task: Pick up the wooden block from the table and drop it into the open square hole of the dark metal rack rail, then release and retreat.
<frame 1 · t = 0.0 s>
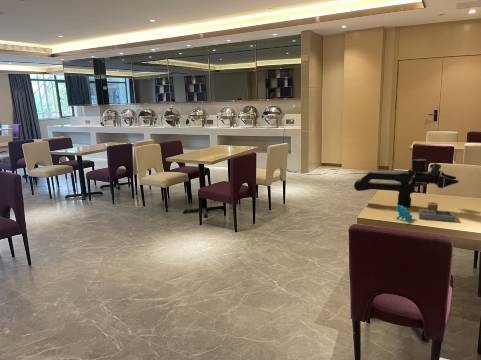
hand: (457, 179, 198), 17 cm above the table, tool horizontal, fingers open, 9 cm apart
rail: (436, 217, 189), on the table
wooden block: (432, 211, 200), on the table
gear: (404, 220, 187), on the table
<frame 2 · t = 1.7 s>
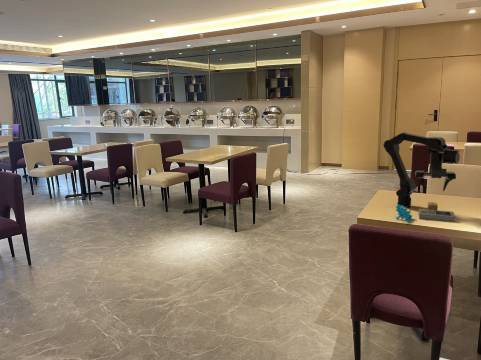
hand: (433, 190, 197), 11 cm above the table, tool pointing down, fingers open, 9 cm apart
nothing on the table moved.
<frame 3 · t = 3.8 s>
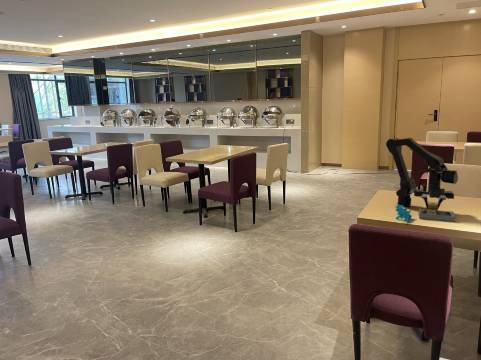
hand: (432, 209, 199), 1 cm above the table, tool pointing down, fingers closed on wooden block, 4 cm apart
wooden block: (432, 211, 200), on the table, touching gripper
everything else where it was.
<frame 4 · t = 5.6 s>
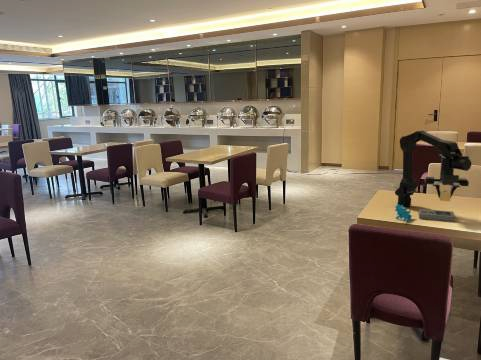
hand: (444, 197, 186), 11 cm above the table, tool pointing down, fingers closed on wooden block, 4 cm apart
wooden block: (444, 199, 186), point 10 cm above the table, touching gripper
everything else where it was.
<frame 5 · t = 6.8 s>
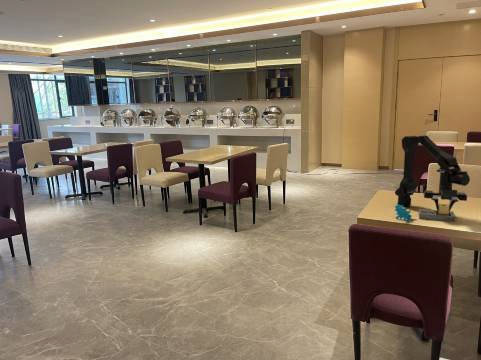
hand: (443, 211, 187), 3 cm above the table, tool pointing down, fingers closed on wooden block, 4 cm apart
wooden block: (443, 213, 188), point 2 cm above the table, touching gripper
everything else where it was.
when the fingers open (3 cm above the table, at t = 7.6 s): wooden block drops 2 cm, resting in rail.
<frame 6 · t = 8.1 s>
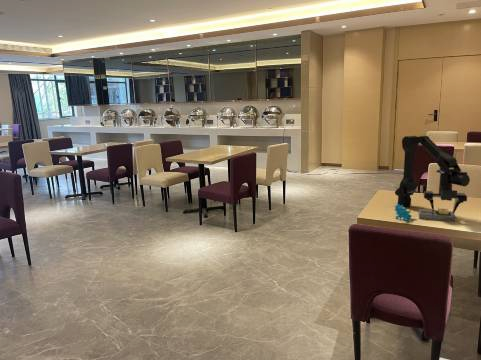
hand: (443, 212, 188), 3 cm above the table, tool pointing down, fingers open, 9 cm apart
wooden block: (442, 218, 188), resting in rail
everything else where it was.
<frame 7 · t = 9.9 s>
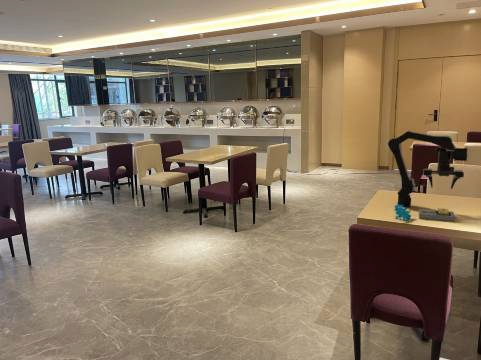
hand: (441, 188, 199), 12 cm above the table, tool pointing down, fingers open, 9 cm apart
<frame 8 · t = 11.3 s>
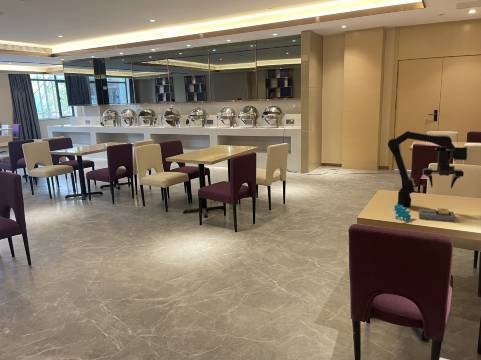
hand: (441, 187, 200), 12 cm above the table, tool pointing down, fingers open, 9 cm apart
at the end: wooden block 0.0 cm from the target spot on the rail, point 0.0 cm above the rail's base; the gripper is holding nothing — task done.
